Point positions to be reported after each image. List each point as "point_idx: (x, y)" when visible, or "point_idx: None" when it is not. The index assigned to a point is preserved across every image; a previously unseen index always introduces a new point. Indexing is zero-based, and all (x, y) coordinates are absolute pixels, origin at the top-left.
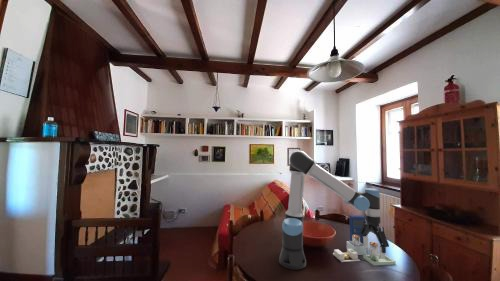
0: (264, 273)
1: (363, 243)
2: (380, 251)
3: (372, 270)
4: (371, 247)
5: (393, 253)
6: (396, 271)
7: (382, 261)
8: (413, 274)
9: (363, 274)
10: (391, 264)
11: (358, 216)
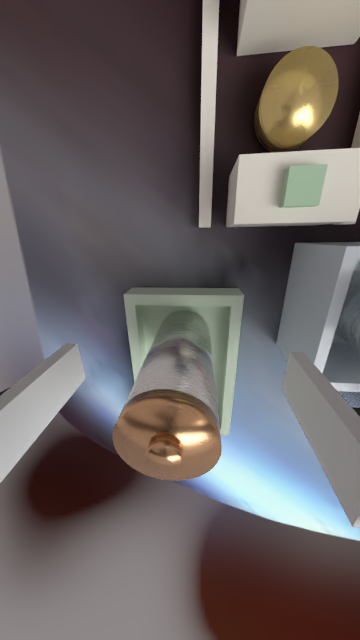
0: None
1: (323, 377)
2: (22, 382)
3: (85, 244)
4: (157, 372)
5: (260, 483)
6: (88, 372)
7: (138, 363)
8: (71, 418)
9: (19, 124)
10: None
11: None
